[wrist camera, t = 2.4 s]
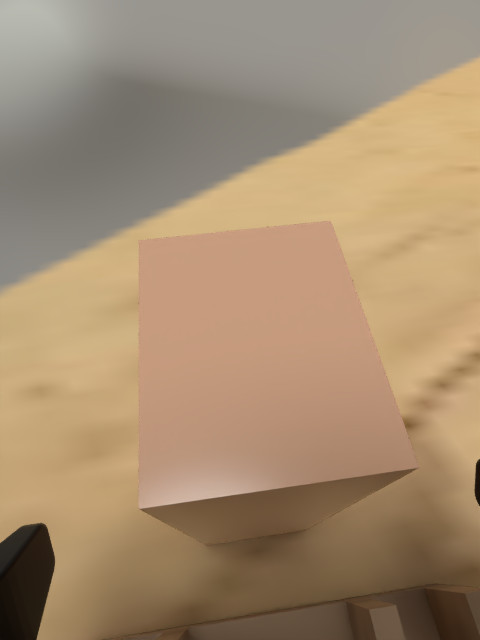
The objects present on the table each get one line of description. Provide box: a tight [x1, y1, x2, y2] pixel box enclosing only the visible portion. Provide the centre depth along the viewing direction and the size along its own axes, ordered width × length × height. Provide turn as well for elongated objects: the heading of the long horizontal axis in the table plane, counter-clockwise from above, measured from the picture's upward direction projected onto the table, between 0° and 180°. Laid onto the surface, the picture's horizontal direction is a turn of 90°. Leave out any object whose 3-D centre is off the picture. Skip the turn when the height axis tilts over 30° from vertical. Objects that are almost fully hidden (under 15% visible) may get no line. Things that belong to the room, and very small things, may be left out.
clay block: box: [139, 221, 419, 545], centre depth 12 cm, size 5×4×12 cm
